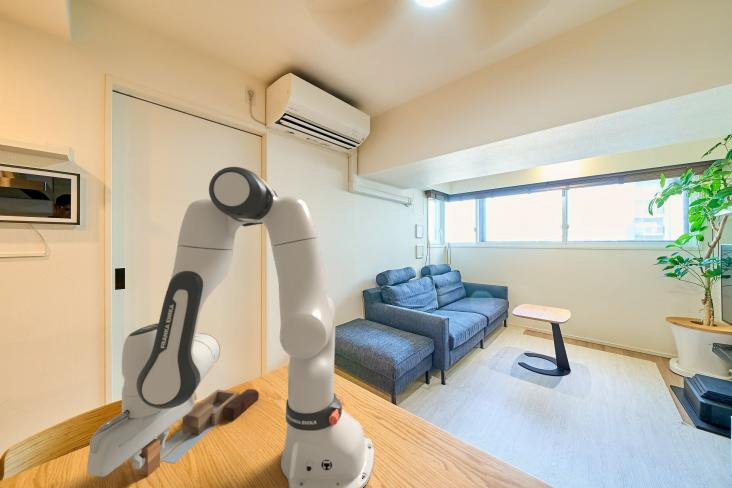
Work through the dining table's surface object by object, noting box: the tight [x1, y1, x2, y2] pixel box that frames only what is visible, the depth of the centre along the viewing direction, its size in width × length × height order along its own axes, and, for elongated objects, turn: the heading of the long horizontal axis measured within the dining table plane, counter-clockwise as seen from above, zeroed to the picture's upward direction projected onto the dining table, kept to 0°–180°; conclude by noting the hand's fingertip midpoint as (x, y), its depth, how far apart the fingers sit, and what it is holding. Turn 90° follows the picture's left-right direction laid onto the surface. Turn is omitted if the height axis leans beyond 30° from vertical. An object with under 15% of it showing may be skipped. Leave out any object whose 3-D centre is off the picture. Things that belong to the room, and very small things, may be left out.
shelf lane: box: [160, 388, 240, 464], centre depth 69 cm, size 8×22×4 cm, turn 169°
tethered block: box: [138, 402, 213, 477], centre depth 63 cm, size 5×17×6 cm, turn 169°
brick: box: [222, 388, 260, 422], centre depth 77 cm, size 11×4×5 cm, turn 164°
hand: (149, 458), depth 56 cm, fingers closed on tethered block, 3 cm apart
